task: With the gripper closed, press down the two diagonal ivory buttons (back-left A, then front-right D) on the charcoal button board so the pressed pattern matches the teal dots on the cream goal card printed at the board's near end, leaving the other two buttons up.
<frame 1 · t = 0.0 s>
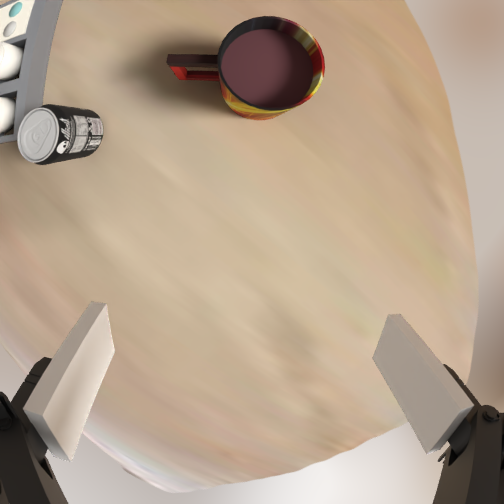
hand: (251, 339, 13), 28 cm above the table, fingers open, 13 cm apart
beverage can: (85, 133, 34), on the table
mug: (243, 89, 34), on the table
board: (5, 72, 28), on the table
button A: (3, 61, 23), point 6 cm above the table, slide at 0.0 cm
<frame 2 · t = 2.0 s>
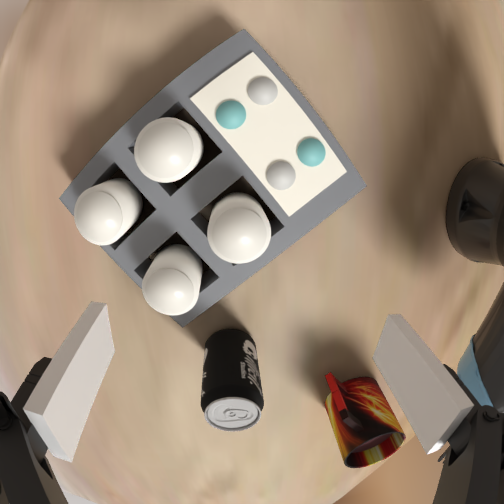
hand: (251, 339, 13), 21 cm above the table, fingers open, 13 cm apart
beverage can: (230, 345, 39), on the table
button D: (109, 210, 25), point 6 cm above the table, slide at 0.0 cm
button C: (171, 149, 24), point 6 cm above the table, slide at 0.0 cm
mug: (342, 394, 44), on the table
board: (209, 179, 31), on the table
button B: (173, 279, 28), point 6 cm above the table, slide at 0.0 cm
button A: (238, 226, 27), point 6 cm above the table, slide at 0.0 cm
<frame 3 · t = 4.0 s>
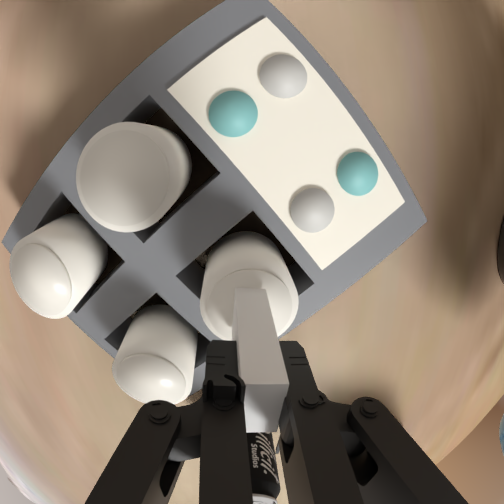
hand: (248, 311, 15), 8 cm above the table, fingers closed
beverage can: (236, 407, 29), on the table
button D: (59, 263, 16), point 6 cm above the table, slide at 0.0 cm
button C: (138, 172, 15), point 6 cm above the table, slide at 0.0 cm
board: (202, 209, 22), on the table
button B: (157, 356, 19), point 6 cm above the table, slide at 0.0 cm
button A: (247, 286, 18), point 5 cm above the table, slide at 0.3 cm, touching gripper
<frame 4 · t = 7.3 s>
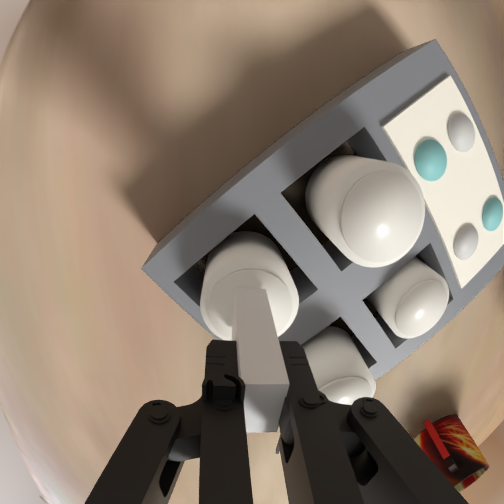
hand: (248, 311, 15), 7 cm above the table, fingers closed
button D: (247, 286, 18), point 4 cm above the table, slide at 1.2 cm, touching gripper
button C: (362, 205, 15), point 6 cm above the table, slide at 0.0 cm
mug: (427, 433, 35), on the table
board: (362, 234, 22), on the table
button B: (330, 376, 20), point 6 cm above the table, slide at 0.0 cm
button A: (405, 292, 20), point 3 cm above the table, slide at 2.4 cm
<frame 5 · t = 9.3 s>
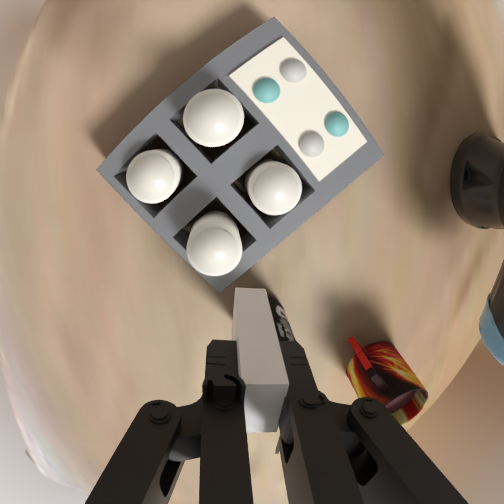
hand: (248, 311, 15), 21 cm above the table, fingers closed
beverage can: (259, 313, 41), on the table
button D: (156, 174, 29), point 3 cm above the table, slide at 2.4 cm
button C: (213, 119, 26), point 6 cm above the table, slide at 0.0 cm
mug: (362, 360, 47), on the table
board: (241, 152, 33), on the table
button B: (214, 242, 30), point 6 cm above the table, slide at 0.0 cm
button A: (271, 185, 31), point 3 cm above the table, slide at 2.4 cm
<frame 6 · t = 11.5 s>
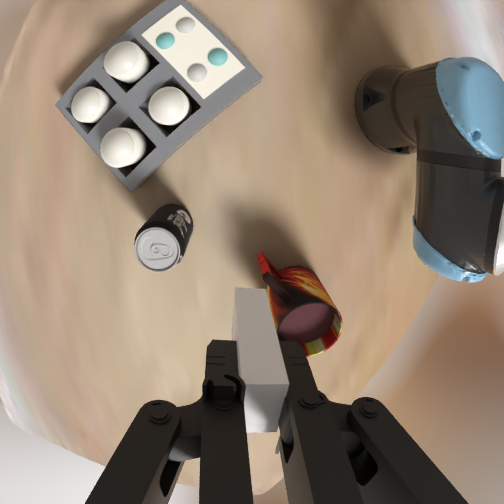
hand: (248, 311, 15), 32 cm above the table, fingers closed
beverage can: (173, 223, 46), on the table
button D: (93, 105, 35), point 3 cm above the table, slide at 2.4 cm
button C: (127, 62, 32), point 6 cm above the table, slide at 0.0 cm
mug: (282, 286, 52), on the table
board: (156, 89, 39), on the table
button B: (124, 147, 36), point 6 cm above the table, slide at 0.0 cm
button A: (170, 107, 37), point 3 cm above the table, slide at 2.4 cm
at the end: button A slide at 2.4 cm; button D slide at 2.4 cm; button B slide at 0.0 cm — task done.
